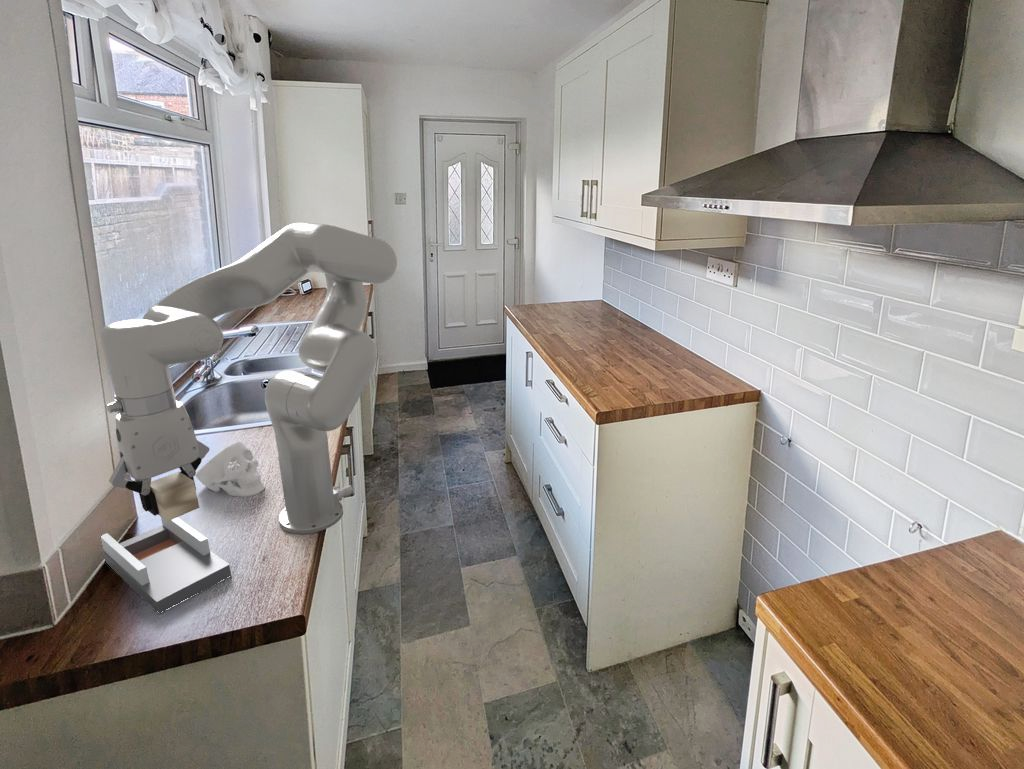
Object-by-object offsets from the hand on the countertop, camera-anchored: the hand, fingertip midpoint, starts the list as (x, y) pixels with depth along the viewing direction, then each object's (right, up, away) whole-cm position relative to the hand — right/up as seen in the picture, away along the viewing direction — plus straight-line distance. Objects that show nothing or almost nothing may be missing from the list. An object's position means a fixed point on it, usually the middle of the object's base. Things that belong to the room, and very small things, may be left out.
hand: (171, 503), depth 95 cm
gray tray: (-6, -14, +9) cm, 18 cm away
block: (+1, -1, -1) cm, 2 cm away
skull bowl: (-8, -4, +37) cm, 38 cm away
